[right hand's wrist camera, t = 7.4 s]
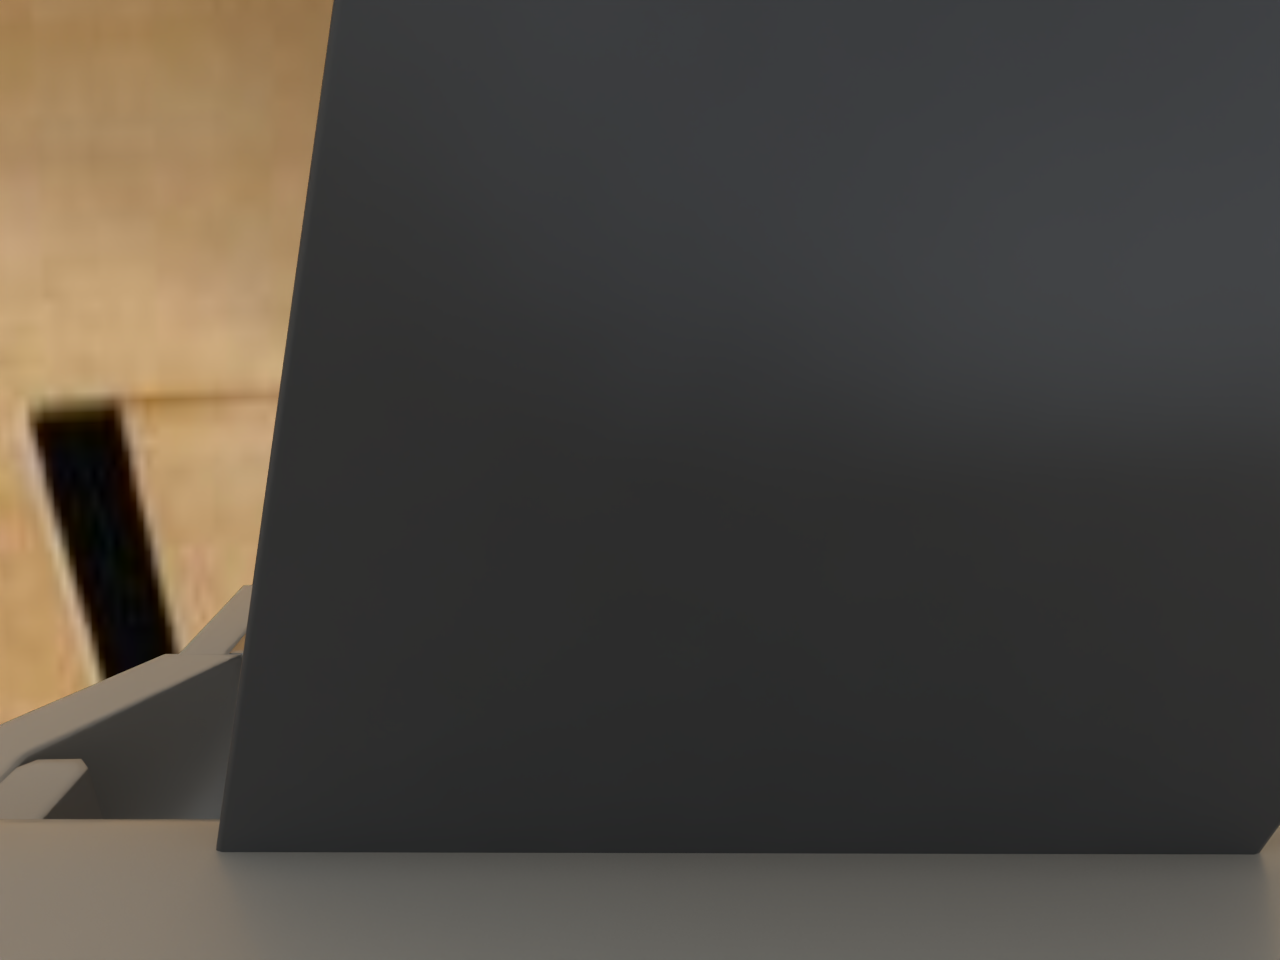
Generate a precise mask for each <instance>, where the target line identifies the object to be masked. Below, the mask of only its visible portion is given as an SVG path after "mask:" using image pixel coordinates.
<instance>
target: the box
mask: <svg viewBox="0 0 1280 960" xmlns="http://www.w3.org/2000/svg"><path fill="white" fill-rule="evenodd" d="M1279 825H1280V0H334V2H333V9H332V16H331V23H330V31H329V38H328V45H327V52H326V59H325V67H324V74H323V81H322V88H321V95H320V103H319V110H318V117H317V124H316V131H315V139H314V146H313V153H312V160H311V167H310V175H309V182H308V189H307V196H306V203H305V211H304V218H303V225H302V232H301V240H300V247H299V254H298V261H297V268H296V276H295V283H294V290H293V297H292V304H291V312H290V319H289V326H288V333H287V340H286V348H285V355H284V362H283V369H282V376H281V384H280V391H279V398H278V405H277V412H276V420H275V427H274V434H273V441H272V448H271V456H270V463H269V470H268V477H267V484H266V492H265V499H264V506H263V513H262V520H261V528H260V535H259V542H258V549H257V556H256V564H255V571H254V578H253V585H252V592H251V600H250V607H249V614H248V621H247V628H246V636H245V643H244V650H243V657H242V664H241V672H240V679H239V686H238V693H237V700H236V708H235V715H234V722H233V729H232V736H231V744H230V751H229V758H228V765H227V772H226V780H225V787H224V794H223V801H222V808H221V816H220V823H219V830H218V837H217V844H216V850H217V851H220V852H389V853H810V854H1240V855H1255V854H1257V853H1260V851H1261V850H1262V849H1263V847H1264V846H1265V845H1266V843H1267V842H1268V840H1269V839H1270V838H1271V836H1272V835H1273V834H1274V832H1275V831H1276V830H1277V828H1278V827H1279Z"/></svg>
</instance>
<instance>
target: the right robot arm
mask: <svg viewBox="0 0 1280 960" xmlns="http://www.w3.org/2000/svg"><path fill="white" fill-rule="evenodd" d="M251 592H252V585H245V586H243V587H242V588H241V589H240V590H239V591H238V592H237V593H236V594H235V595H234V596H233V597H232V598H231V599H230V600H229V601H228V602H227V604H226V605H225V606H224V607H223V608H222V609H221V610H220V611H219V612H218V613H217V614H216V615H215V616H214V617H213V618H212V619H211V620H210V622H209V623H208V624H207V625H206V626H205V627H204V628H203V629H202V630H201V631H200V632H199V633H198V634H197V635H196V636H195V637H194V639H193V640H192V641H191V642H190V643H189V644H188V645H187V646H186V647H185V648H184V649H183V650H182V651H181V652H180V653H179V654H164V655H162V656H159V657H157V658H155V659H152V660H150V661H148V662H145V663H143V664H141V665H138V666H136V667H134V668H131V669H129V670H127V671H124V672H122V673H120V674H117V675H115V676H113V677H110V678H108V679H106V680H103V681H101V682H99V683H96V684H94V685H92V686H89V687H87V688H85V689H82V690H80V691H78V692H75V693H73V694H71V695H68V696H66V697H64V698H61V699H59V700H57V701H54V702H52V703H50V704H47V705H45V706H43V707H40V708H38V709H36V710H33V711H31V712H29V713H26V714H24V715H22V716H19V717H17V718H15V719H12V720H10V721H8V722H5V723H3V724H1V725H0V960H1280V825H1279V827H1278V828H1277V830H1276V831H1275V832H1274V834H1273V835H1272V836H1271V838H1270V839H1269V840H1268V842H1267V843H1266V845H1265V846H1264V847H1263V849H1262V850H1261V851H1260V853H1257V854H1255V855H1240V854H810V853H389V852H220V851H217V850H216V844H217V837H218V830H219V823H220V816H221V808H222V801H223V794H224V787H225V780H226V772H227V765H228V758H229V751H230V744H231V736H232V729H233V722H234V715H235V708H236V700H237V693H238V686H239V679H240V672H241V664H242V657H243V650H244V643H245V636H246V628H247V621H248V614H249V607H250V600H251Z"/></svg>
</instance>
